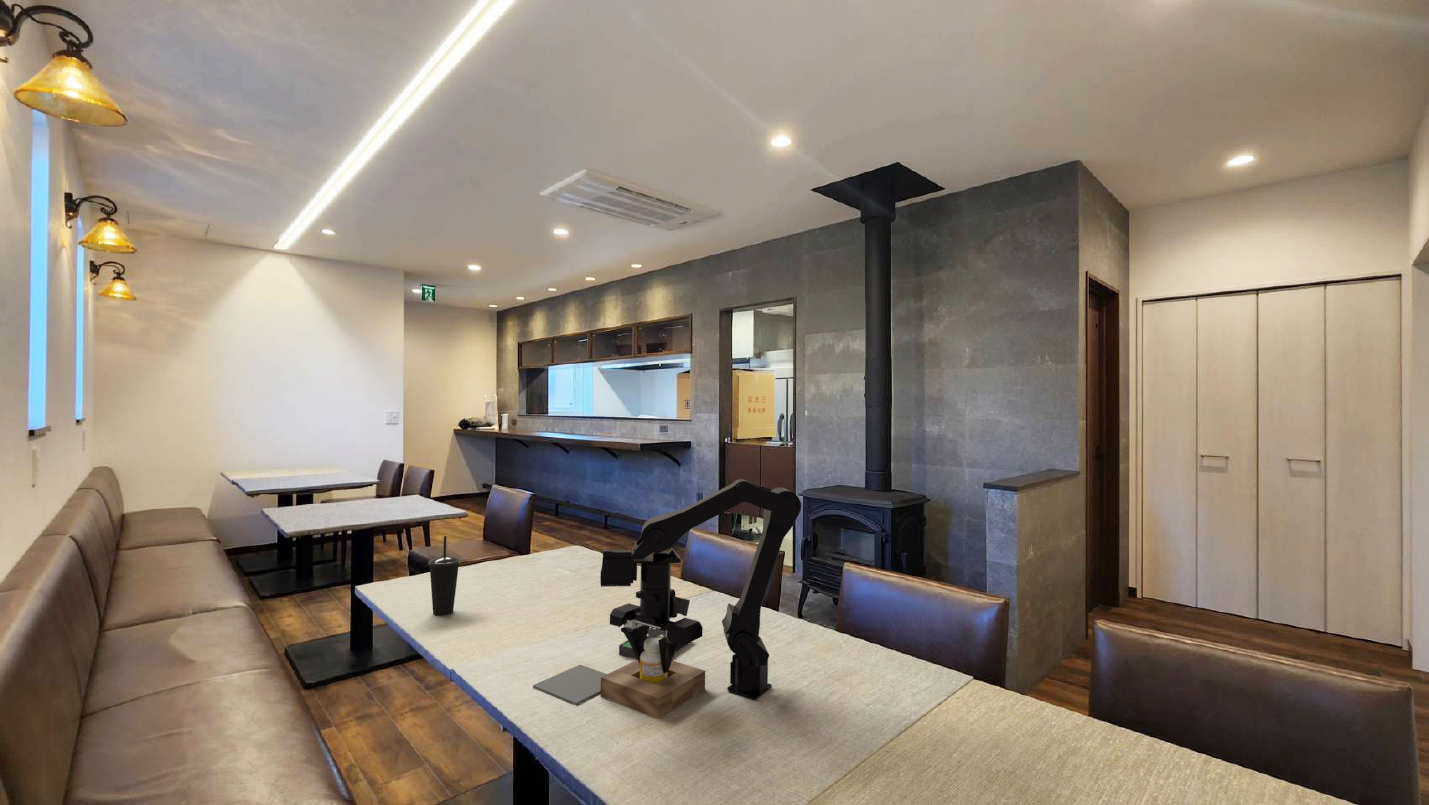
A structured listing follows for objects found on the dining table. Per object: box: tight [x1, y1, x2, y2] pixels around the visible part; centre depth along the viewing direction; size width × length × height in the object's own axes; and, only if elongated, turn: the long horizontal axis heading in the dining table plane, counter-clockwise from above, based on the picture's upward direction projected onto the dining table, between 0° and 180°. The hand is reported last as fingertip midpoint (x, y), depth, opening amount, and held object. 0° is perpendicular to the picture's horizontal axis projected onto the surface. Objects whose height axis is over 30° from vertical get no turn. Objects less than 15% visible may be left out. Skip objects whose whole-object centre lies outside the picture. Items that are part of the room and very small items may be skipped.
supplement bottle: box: [640, 638, 668, 684], centre depth 112 cm, size 5×5×10 cm
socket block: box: [599, 659, 706, 720], centre depth 112 cm, size 14×14×4 cm
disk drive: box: [618, 627, 688, 660], centre depth 134 cm, size 10×3×15 cm
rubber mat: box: [532, 664, 608, 706], centre depth 115 cm, size 12×12×1 cm
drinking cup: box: [427, 535, 461, 617], centre depth 156 cm, size 8×8×20 cm
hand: (653, 668), depth 112 cm, fingers closed on supplement bottle, 5 cm apart
